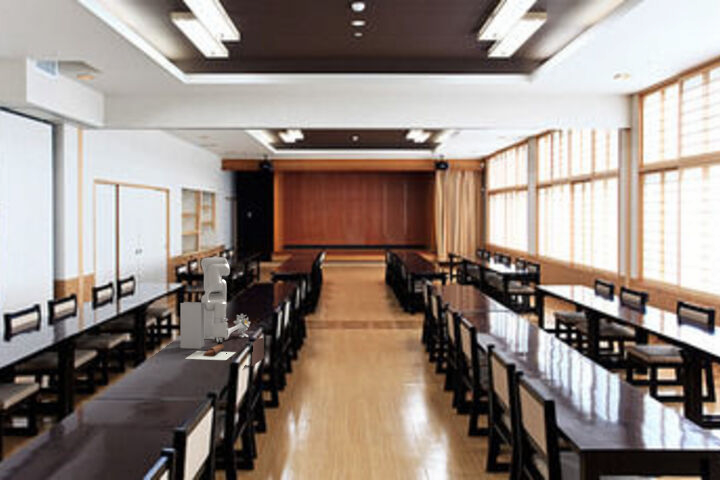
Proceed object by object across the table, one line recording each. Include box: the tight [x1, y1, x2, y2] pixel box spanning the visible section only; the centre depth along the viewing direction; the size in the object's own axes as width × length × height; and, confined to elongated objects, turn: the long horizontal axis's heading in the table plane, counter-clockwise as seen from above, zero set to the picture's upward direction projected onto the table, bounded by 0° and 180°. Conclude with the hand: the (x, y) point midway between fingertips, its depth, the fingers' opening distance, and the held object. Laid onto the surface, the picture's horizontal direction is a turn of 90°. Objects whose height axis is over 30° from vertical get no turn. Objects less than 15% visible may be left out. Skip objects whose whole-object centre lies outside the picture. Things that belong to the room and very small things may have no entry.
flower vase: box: [220, 313, 251, 341], centre depth 402 cm, size 13×18×25 cm
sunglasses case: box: [203, 344, 225, 356], centre depth 358 cm, size 18×7×7 cm
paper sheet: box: [184, 350, 237, 361], centre depth 352 cm, size 20×26×1 cm
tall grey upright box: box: [179, 301, 205, 350], centre depth 372 cm, size 14×6×30 cm, turn 84°
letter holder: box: [236, 337, 265, 367], centre depth 337 cm, size 10×20×14 cm, turn 170°
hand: (220, 347), depth 368 cm, fingers closed
